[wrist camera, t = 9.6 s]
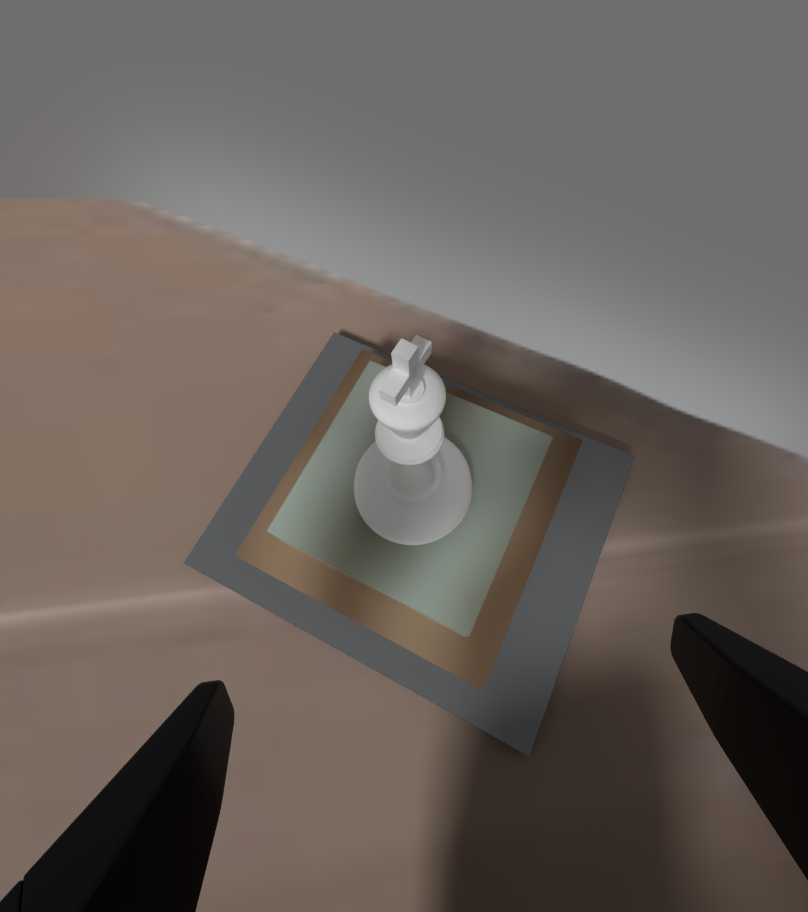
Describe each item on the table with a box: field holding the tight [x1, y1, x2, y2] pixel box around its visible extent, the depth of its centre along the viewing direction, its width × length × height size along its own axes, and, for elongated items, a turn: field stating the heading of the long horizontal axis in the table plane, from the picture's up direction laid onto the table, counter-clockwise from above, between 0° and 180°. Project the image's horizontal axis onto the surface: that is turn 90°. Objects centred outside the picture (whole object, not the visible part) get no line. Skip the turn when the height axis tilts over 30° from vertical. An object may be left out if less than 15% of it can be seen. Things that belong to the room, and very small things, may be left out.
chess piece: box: [354, 335, 472, 545], centre depth 15 cm, size 5×5×10 cm
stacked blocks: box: [234, 349, 583, 691], centre depth 21 cm, size 12×12×4 cm
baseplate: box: [184, 333, 634, 756], centre depth 24 cm, size 18×15×1 cm
